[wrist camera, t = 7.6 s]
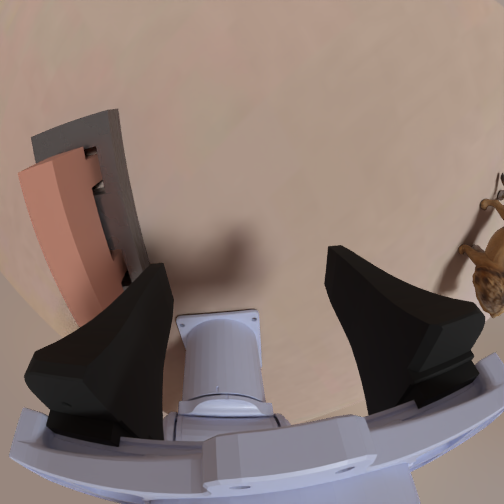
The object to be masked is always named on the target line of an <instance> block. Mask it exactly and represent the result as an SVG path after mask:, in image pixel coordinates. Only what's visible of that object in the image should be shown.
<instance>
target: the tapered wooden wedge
mask: <svg viewBox="0 0 504 504" xmlns="http://www.w3.org/2000/svg"><path fill="white" fill-rule="evenodd" d="M18 176H19V180H20V184H21V188H22V192H23V195H24V199H25V202H26V206H27V209H28V212H29V215H30V218H31V221H32V224H33V227H34V230H35V233H36V236H37V238H38V241H39V244H40V246H41V249H42V251H43V254H44V256H45V259H46V261H47V264H48V266H49V268H50V270H51V273H52V275H53V277H54V279H55V281H56V284H57V286H58V288H59V290H60V292H61V294H62V296H63V298H64V300H65V302H66V304H67V306H68V308H69V309H70V311H71V313H72V315H73V317H74V319H75V320H76V322H77V324H78V326H79V327H82V326H83V325H85V324H86V323H88V322H89V321H90V320H92V319H93V318H95V317H96V316H97V315H98V314H100V313H101V312H102V311H103V310H104V309H106V308H107V307H108V306H109V305H110V304H111V303H112V302H113V301H114V300H115V299H116V298H117V297H118V296H120V295H121V294H122V293H123V292H124V290H123V287H122V284H121V281H122V279H123V277H124V275H125V273H126V270H127V266H126V263H125V260H124V257H123V254H122V251H121V249H117V250H109V248H108V244H107V241H106V238H105V235H104V232H103V228H102V225H101V221H100V218H99V214H98V211H97V207H96V203H95V199H94V195H93V191H92V187H93V186H95V185H96V184H97V183H99V182H100V181H101V180H103V179H102V174H101V169H100V164H99V159H98V154H94V155H90V156H87V157H85V154H84V149H83V147H80V148H76V149H73V150H70V151H67V152H64V153H61V154H58V155H55V156H52V157H49V158H47V159H45V160H43V161H41V162H39V163H37V164H35V165H33V166H31V167H29V168H27V169H25V170H23V171H21V172H19V173H18Z"/></svg>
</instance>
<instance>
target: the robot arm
mask: <svg viewBox="0 0 504 504" xmlns="http://www.w3.org/2000/svg"><path fill="white" fill-rule="evenodd" d="M324 284H325V287H326V290H327V294H328V297H329V299H330V302H331V304H332V307H333V309H334V311H335V313H336V315H337V317H338V319H339V321H340V323H341V325H342V327H343V329H344V331H345V334H346V336H347V338H348V340H349V342H350V345H351V347H352V351H353V354H354V357H355V360H356V363H357V367H358V370H359V374H360V378H361V381H362V386H363V390H364V394H365V399H366V404H367V410H368V415H369V416H366V417H361V416H356V415H351V414H350V415H343V416H336V417H331V418H326V419H322V420H317V421H312V422H307V423H301V424H295V425H291V424H290V423H289V421H288V420H287V419H285V417H284V416H283V415H282V414H279V413H277V414H273V408H272V403H266V400H265V394H264V387H263V380H262V373H261V367H262V357H261V340H260V323H259V312H258V311H257V310H245V311H234V312H224V313H212V314H200V315H186V316H178V317H177V319H176V323H177V326H178V329H179V332H180V335H181V337H182V340H183V343H184V346H185V349H186V357H185V369H184V381H183V396H182V401H179V408H178V413H177V412H170V413H169V414H168V415H167V416H166V417H164V419H163V413H162V384H163V367H164V359H165V354H166V348H167V343H168V338H169V333H170V328H171V323H172V317H173V302H174V299H173V295H172V292H171V289H170V285H169V282H168V278H167V274H166V271H165V267H164V263H158V264H150V265H149V266H148V267H147V268H146V269H145V270H144V271H143V272H142V273H141V274H140V275H139V276H138V277H137V278H136V279H135V280H134V281H133V282H132V283H131V284H130V286H129V287H128V288H127V289H126V290H125V291H124V292H123V293H122V294H121V295H120V296H118V297H117V298H116V299H115V300H114V301H113V302H112V303H111V304H110V305H109V306H108V307H107V308H106V309H104V310H103V311H102V312H101V313H100V314H98V315H97V316H96V317H95V318H93V319H92V320H90V321H89V322H88V323H86V324H85V325H83V326H82V327H80V328H79V329H77V330H76V331H74V332H73V333H71V334H69V335H68V336H66V337H64V338H62V339H61V340H59V341H57V342H55V343H53V344H51V345H48V346H46V347H44V348H42V349H40V350H38V351H36V352H35V353H34V355H33V357H32V359H31V361H30V364H29V366H28V368H27V370H26V373H25V375H24V378H25V382H26V384H27V386H28V387H29V389H30V390H31V391H32V392H33V393H34V394H35V395H36V396H37V397H38V398H39V399H40V400H41V401H42V402H43V403H44V404H45V405H46V406H47V407H48V408H49V409H50V413H49V416H47V415H46V414H44V413H41V412H38V411H35V410H32V409H28V408H23V410H22V413H21V416H20V419H19V422H18V425H17V428H16V431H15V435H14V438H13V442H12V446H11V450H10V454H9V457H10V458H11V459H12V460H14V461H16V462H17V463H19V464H21V465H22V466H24V467H25V468H27V469H29V470H31V471H32V472H34V473H36V474H38V475H39V476H41V477H43V478H45V479H47V480H49V481H52V482H55V483H57V484H60V485H62V486H65V487H68V488H70V489H73V490H76V491H79V492H82V493H85V494H88V495H91V496H95V497H98V498H102V499H105V500H109V501H113V502H117V503H121V504H421V503H420V500H419V497H418V494H417V490H416V487H415V484H414V481H413V478H412V475H411V473H410V472H411V471H413V470H416V469H418V468H420V467H422V466H424V465H425V464H427V463H429V462H431V461H433V460H435V459H437V458H438V457H440V456H442V455H444V454H445V453H447V452H449V451H450V450H452V449H453V448H455V447H457V446H458V445H460V444H461V443H463V442H465V441H466V440H468V439H469V438H471V437H472V436H474V435H475V434H476V433H478V432H479V431H481V430H482V429H484V428H485V427H486V426H488V425H489V424H490V423H491V422H492V421H494V420H495V419H496V418H497V417H498V416H499V415H500V414H501V413H502V412H504V364H503V362H502V361H501V359H500V358H499V357H498V355H497V354H496V353H495V352H494V353H492V354H490V355H489V356H487V357H485V358H483V359H482V360H480V361H479V362H478V363H476V365H474V364H473V362H472V359H473V358H474V354H473V353H472V351H471V348H472V347H473V345H474V344H475V342H476V340H477V338H478V337H479V335H480V334H481V331H482V330H483V327H484V324H485V316H484V314H483V313H482V312H481V311H480V309H479V308H478V307H477V306H476V304H475V303H473V302H469V301H463V300H458V299H453V298H449V297H445V296H441V295H438V294H435V293H432V292H429V291H426V290H423V289H420V288H418V287H415V286H413V285H411V284H408V283H406V282H404V281H402V280H400V279H398V278H396V277H394V276H392V275H390V274H388V273H387V272H385V271H383V270H381V269H379V268H378V267H376V266H374V265H373V264H371V263H370V262H368V261H366V260H365V259H363V258H362V257H360V256H358V255H357V254H355V253H354V252H352V251H350V250H349V249H347V248H345V247H343V246H341V245H338V246H328V254H327V265H326V274H325V283H324ZM252 318H255V319H252ZM182 324H184V325H182Z"/></svg>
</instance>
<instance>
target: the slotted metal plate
mask: <svg viewBox="0 0 504 504" xmlns="http://www.w3.org/2000/svg"><path fill="white" fill-rule="evenodd" d="M31 140H32V146H33V151H34V156H35V161H36V164H37V163H39V162H41V161H43V160H45V159H47V158H49V157H52V156H55V155H58V154H61V153H64V152H67V151H70V150H73V149H76V148H80V147H83V149H87V148H90V147H94V146H96V148H97V154H98V159H99V164H100V169H101V174H102V179H103V183H104V187H103V188H98V189H94V190H92V191H93V195H94V199H95V203H96V207H97V211H98V214H99V218H100V221H101V225H102V228H103V232H104V235H105V238H106V241H107V244H108V248H109V250H117V249H121V251H122V254H123V257H124V260H125V263H126V266H127V269H128V272H129V273H125V275H124V277H123V279H122V281H121V284H122V287H123V290H124V291H125V290H126V289H127V288H128V287H129V286H130V284H131V283H132V282H133V281H134V280H135V279H136V278H137V277H138V276H139V275H140V274H141V273H142V272H143V271H144V270H145V269H146V268H147V267H148V266H149V265H150V263H149V259H148V256H147V252H146V248H145V245H144V241H143V237H142V233H141V229H140V225H139V221H138V217H137V213H136V209H135V204H134V200H133V195H132V190H131V186H130V181H129V175H128V170H127V165H126V159H125V153H124V147H123V141H122V135H121V128H120V120H119V112H118V109H112V110H106V111H102V112H99V113H96V114H92V115H89V116H86V117H83V118H80V119H77V120H74V121H71V122H68V123H65V124H63V125H60V126H57V127H55V128H52V129H50V130H47V131H45V132H42V133H40V134H37V135H35V136H33V137H31Z"/></svg>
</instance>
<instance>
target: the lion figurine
mask: <svg viewBox="0 0 504 504" xmlns="http://www.w3.org/2000/svg"><path fill="white" fill-rule="evenodd" d="M501 181H502V183H503V185H504V174H503V173H502V175H501ZM498 198H499V200H503V199H504V190H501V191H500V193H499V195H498ZM480 206H481V208H482V209H483V210H486V209H487V207H488V206H492V207H494V208H496V210H497V211H498V213H499V214H500V216H501V218H502V219H503V220H504V205H502V204H501V203H500V202H499V201H498V200H489V199H484V200H483V201H482V202H481V205H480ZM458 252H459V253H460V254H464V253H467V255H468V256H469V258H470V259H471V260H472V262H473V263H474V264H475V265H476V267H475V272H474V274H473V284H474V287H475V292H476V297H477V299H478V301H479V303H480V305H481V307H482V309H483V311H485V312H487V313H489V314H490V316H491V317H492V318H495V317H496V316H499V315H500V314H502V313H503V312H504V227H502V228H500V229H499V230H497V231H496V232H495V233H494V234H493V236H492V237H491V239H490V241H489V243H488V245H487V247H486V250H485V251H484V250H482V249H481V248H480V246H478V245H473V246H472V248H471V247H470V246H468V245H465V244H464V245H461V246H460V247H459V250H458Z"/></svg>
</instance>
